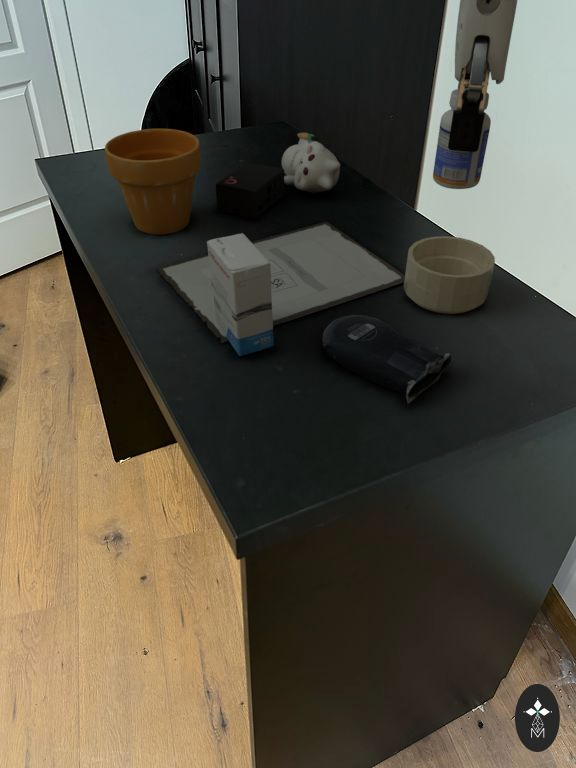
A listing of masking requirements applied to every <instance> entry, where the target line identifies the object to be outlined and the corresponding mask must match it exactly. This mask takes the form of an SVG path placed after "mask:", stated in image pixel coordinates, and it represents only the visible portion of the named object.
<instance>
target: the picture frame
mask: <svg viewBox="0 0 576 768" xmlns="http://www.w3.org/2000/svg"><path fill="white" fill-rule="evenodd" d="M251 243H252V244H253V245H254V246H255V247H256V248H257V249H258V250H259V251H260V252H261V253H262V254H263V256H264V257H265V258H266V259H267V260H268V261H269V262H270V269H271V295H272V318H273V327H274V326H277V325H280V324H283V323H286V322H290V321H292V320H295V319H298V318H302V317H304V316H306V315H310V314H313V313H316V312H319V311H322V310H325V309H328V308H330V307H335V306H336V305H341V304H343V303H346V302H349V301H352V300H354V299H358V298H361V297H365V296H368V295H369V294H373V293H376V292H379V291H382V290H384V289H387V288H391V287H394V286H397V285H400V284H402V283H403V284H404V281H405V274H404V273H402V272H401V271H400V270H398V269H396V268H395V267H394V266H392V265H391V264H389V263H388V262H386V261H385V260H384V259H382V258H380V257H379V256H377V255H376V254H375V253H374V252H372V251H370V250H369V249H368V248H366V247H365V246H362V245H361V244H360V243H358V242H357V241H356V240H354V239H353V238H351V237H350V236H349V235H347V234H346V233H344V232H342V231H341V230H339V229H338V228H337V227H336V226H335V225H332V224H331V223H330V222H328V221H323V222H320V223H316V224H312V225H308V226H304V227H300V228H298V229H293V230H290V231H287V232H282V233H280V234H274V235H272V236H271V235H270V236H269V237H265V238H264V237H263V238H261V239H257V240H253V241H251ZM155 269H156V271H158V274H160V276H162V278H163V279H164V280H165V281H166V283H168V284H170V286H171V287H172V288H173V289H174V291H175V293H176V294H177V295H179V296H180V298H182V299H183V300H184V301H185V303H186V304H188V307H191V309H193V310H194V311H193V312H194V314H197V315H198V317H199V318H200V319H201V321H202V322H203V323H206V326H207V328H208V330H210V332H212V333H213V335H214V336H215V337H216V338H219V339H220V344H223V343H226V342H229V340H228V339H227V337H226V336H225V334H224V333H223V331H222V330H221V328H220V327H219V326H218V324H217V323H216V316H215V307H214V299H213V290H212V281H211V272H210V263H209V255H208V253H205V254H201V255H198V256H194V257H191V258H187V259H182V260H180V261H176V262H171V263H168V264H165V265H161V266H157V267H155Z"/></svg>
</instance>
